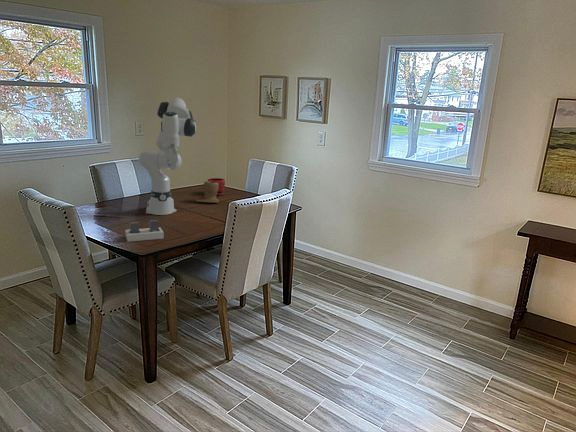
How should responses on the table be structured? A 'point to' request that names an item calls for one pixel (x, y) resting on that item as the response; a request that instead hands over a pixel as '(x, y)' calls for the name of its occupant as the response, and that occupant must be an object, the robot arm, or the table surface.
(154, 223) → the plug
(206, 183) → the tan boot
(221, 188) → the plant pot
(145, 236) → the power strip
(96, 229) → the table surface
